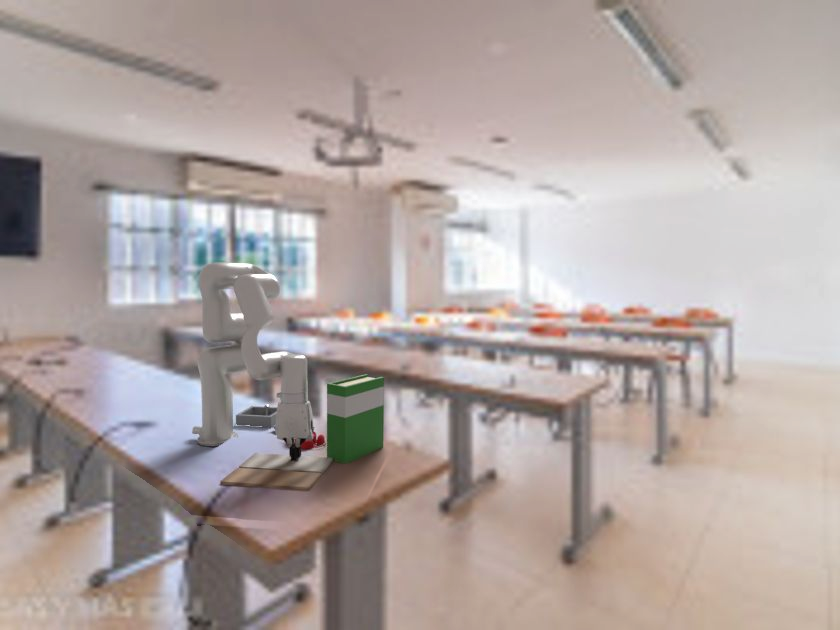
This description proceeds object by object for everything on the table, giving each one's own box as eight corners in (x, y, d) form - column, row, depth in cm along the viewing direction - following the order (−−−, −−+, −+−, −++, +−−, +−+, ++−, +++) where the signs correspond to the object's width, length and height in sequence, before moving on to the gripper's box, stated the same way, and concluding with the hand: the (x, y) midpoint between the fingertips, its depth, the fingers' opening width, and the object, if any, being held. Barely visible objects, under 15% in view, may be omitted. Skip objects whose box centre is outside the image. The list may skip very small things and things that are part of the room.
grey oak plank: (238, 471, 136) (238, 466, 136) (255, 457, 146) (255, 453, 146) (321, 477, 133) (321, 471, 133) (332, 462, 143) (332, 457, 143)
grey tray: (236, 425, 178) (235, 415, 178) (251, 416, 191) (251, 406, 191) (271, 427, 177) (271, 416, 176) (284, 417, 189) (284, 407, 189)
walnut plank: (220, 486, 126) (220, 481, 126) (237, 473, 135) (237, 467, 135) (309, 493, 123) (309, 487, 123) (320, 478, 132) (320, 473, 132)
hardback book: (365, 445, 160) (366, 374, 158) (383, 450, 155) (384, 377, 154) (326, 462, 145) (326, 383, 143) (345, 468, 141) (345, 387, 139)
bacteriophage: (257, 419, 187) (256, 402, 187) (278, 418, 189) (278, 401, 188) (254, 425, 181) (254, 407, 180) (277, 423, 182) (276, 406, 182)
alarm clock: (300, 427, 166) (331, 426, 158) (303, 446, 166) (334, 445, 158) (276, 436, 157) (308, 434, 149) (279, 455, 157) (311, 454, 149)
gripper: (264, 399, 137) (265, 462, 139) (315, 401, 136) (316, 465, 137) (275, 393, 145) (276, 453, 146) (323, 395, 143) (324, 455, 145)
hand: (295, 459), depth 142 cm, fingers closed
